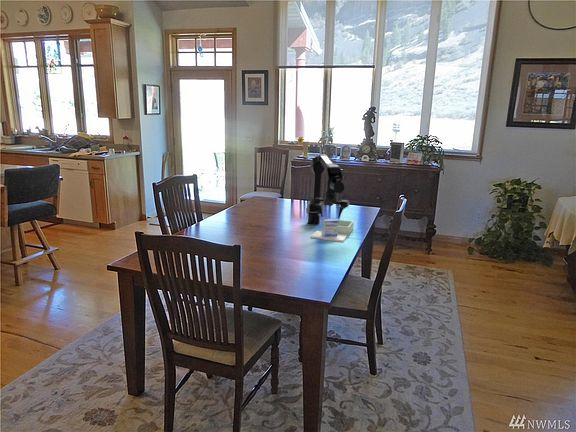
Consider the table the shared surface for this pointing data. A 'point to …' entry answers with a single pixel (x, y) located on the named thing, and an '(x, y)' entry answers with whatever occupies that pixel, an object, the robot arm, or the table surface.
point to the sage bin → (345, 227)
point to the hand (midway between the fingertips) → (330, 217)
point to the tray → (333, 238)
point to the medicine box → (329, 227)
